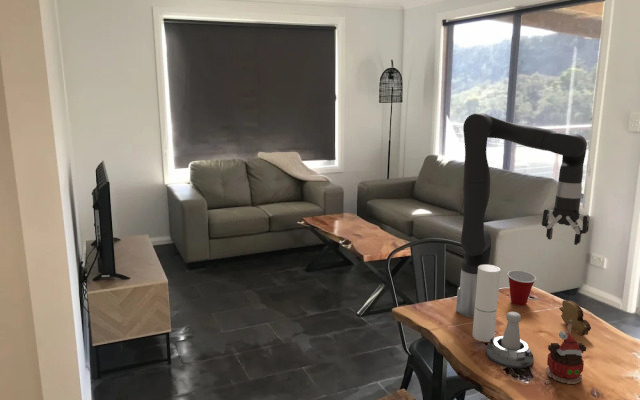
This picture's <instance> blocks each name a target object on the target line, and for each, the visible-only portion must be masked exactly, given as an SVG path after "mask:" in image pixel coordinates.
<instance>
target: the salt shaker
mask: <svg viewBox="0 0 640 400" xmlns="http://www.w3.org/2000/svg"><path fill="white" fill-rule="evenodd" d="M505 318H506V320H507V323H506V325H505V326H506V327H505V330H504V332H503V335H502V336H503V338H502V341H501V344H502V347H503V348H506V349H508V350H519V349H520V347H521V344H520V339H521V333H520V322H521V320H522V317H521V314H520V313H519V312H516V311H508V312H507V313H506V317H505Z"/></svg>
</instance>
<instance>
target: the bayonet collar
mask: <svg viewBox="0 0 640 400" xmlns="http://www.w3.org/2000/svg"><path fill="white" fill-rule="evenodd" d="M502 338H503V335H500V336H494V337H493V338H491V339H490V342H489V344H488V345H487V347H486V351H485V354H486V357H487V358H488V360H490V361H491V362H493V363H494V364H497V365H498V366H501V367H504V368H508V369H517V370H518V369H525V368H529V367H530V366H532V365H533V361H534V354H533V353H532V350H531V349H529V348H530V347H529V345H528V343H527V342H526V341H524V340H522V339H521V338H520V344H521V347H520V349H519V350H508V349H506V348H503V347H502V344H501V341H502Z"/></svg>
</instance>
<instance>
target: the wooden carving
mask: <svg viewBox="0 0 640 400" xmlns="http://www.w3.org/2000/svg"><path fill="white" fill-rule="evenodd" d="M562 300H563V299H562ZM561 304H562V306H560V307H558V308H559V311H560V312H561V315H560V317H561V319H562V321H563V322H564V324H565V325H566V327H568V323H569V320H571V321H572V327H571V332H577V334H578V335H579V336H581V337H584V336H587V335H589V332H590V331H591V330H592V326H591V324H590V322H589V321H588V320H587V319H584V311H583V309H582V307H581V306H580V305H579V304H578V303H576V301H575V302H574V301H573V300H570V299H564V300H563V301H562V303H561Z"/></svg>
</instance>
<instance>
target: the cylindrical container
mask: <svg viewBox="0 0 640 400" xmlns="http://www.w3.org/2000/svg"><path fill="white" fill-rule="evenodd" d="M500 277H501V268H500V267H498V266H496V265H493V264H488V265H480V266H478V274H477V286H476V298H475V310H474V318H473V323H472V325H473V326H472V334H471V335H472V338H473V337H474V338H473V339H475V340H477V341H478V342H482V341H483V342H482V343H490V339H491V338H493V337H494V338H495V335H496V334H495V333H496V321H497V312H498V311H497V310H498V299H499V289H500V279H501V278H500Z"/></svg>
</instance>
